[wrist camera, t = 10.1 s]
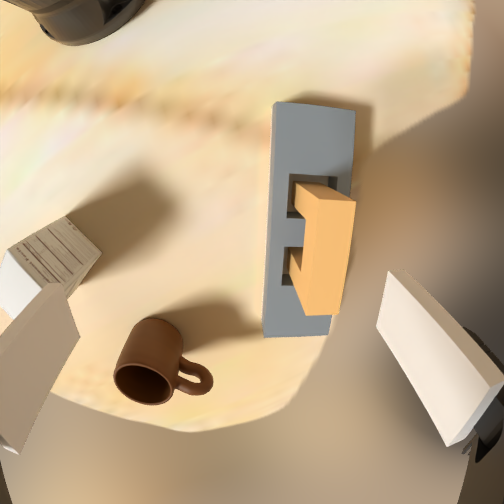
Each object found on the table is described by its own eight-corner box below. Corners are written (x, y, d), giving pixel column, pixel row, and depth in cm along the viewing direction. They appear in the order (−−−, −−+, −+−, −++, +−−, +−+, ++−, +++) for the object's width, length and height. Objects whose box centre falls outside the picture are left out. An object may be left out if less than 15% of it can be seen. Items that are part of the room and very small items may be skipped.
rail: (271, 106, 29) (276, 101, 25) (342, 113, 30) (355, 110, 26) (261, 319, 38) (263, 337, 35) (320, 317, 39) (328, 335, 35)
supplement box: (78, 288, 35) (33, 342, 24) (42, 251, 33) (-13, 294, 21) (105, 252, 34) (56, 303, 22) (65, 213, 32) (4, 248, 20)
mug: (218, 326, 38) (216, 375, 30) (212, 367, 41) (209, 416, 32) (131, 311, 37) (108, 355, 28) (132, 353, 40) (115, 399, 31)
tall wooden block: (292, 180, 31) (319, 199, 21) (319, 182, 31) (356, 201, 22) (286, 266, 35) (305, 315, 25) (311, 266, 35) (338, 314, 25)
